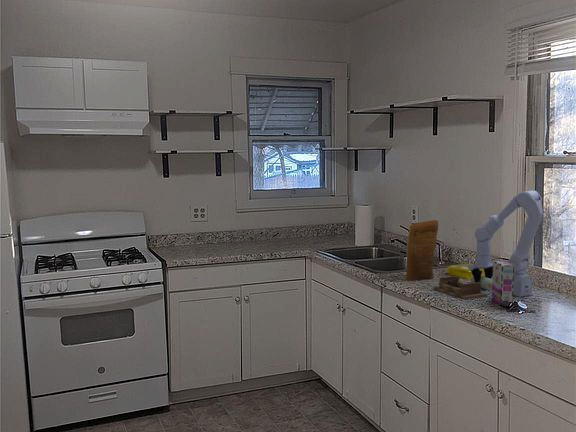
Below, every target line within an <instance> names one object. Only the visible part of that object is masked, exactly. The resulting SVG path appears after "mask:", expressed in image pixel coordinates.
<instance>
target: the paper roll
mask: <svg viewBox="0 0 576 432" xmlns="http://www.w3.org/2000/svg"><path fill="white" fill-rule="evenodd" d="M470 283H475V280H474V277H473V276H472V277H471V279H470ZM480 283H481V289H484V290H488V291H492V284H493V278H491V279H490V278H486V277H483V276H481V279H480Z"/></svg>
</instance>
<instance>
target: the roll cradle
mask: <svg viewBox="0 0 576 432" xmlns="http://www.w3.org/2000/svg"><path fill="white" fill-rule="evenodd" d="M459 279H460V277H459V276H451V275H449V276H443V277H439V286H433V290H435V291H437V292H441V293H444V294H447V295H450V296H452V297H455V298H459V299H461V300H470V299H478V298H484V297H485V298H487V297H488V293H485V292H482V288H481V283H480V282H476V283H471V282H470V283H464V282H460V280H459Z"/></svg>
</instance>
